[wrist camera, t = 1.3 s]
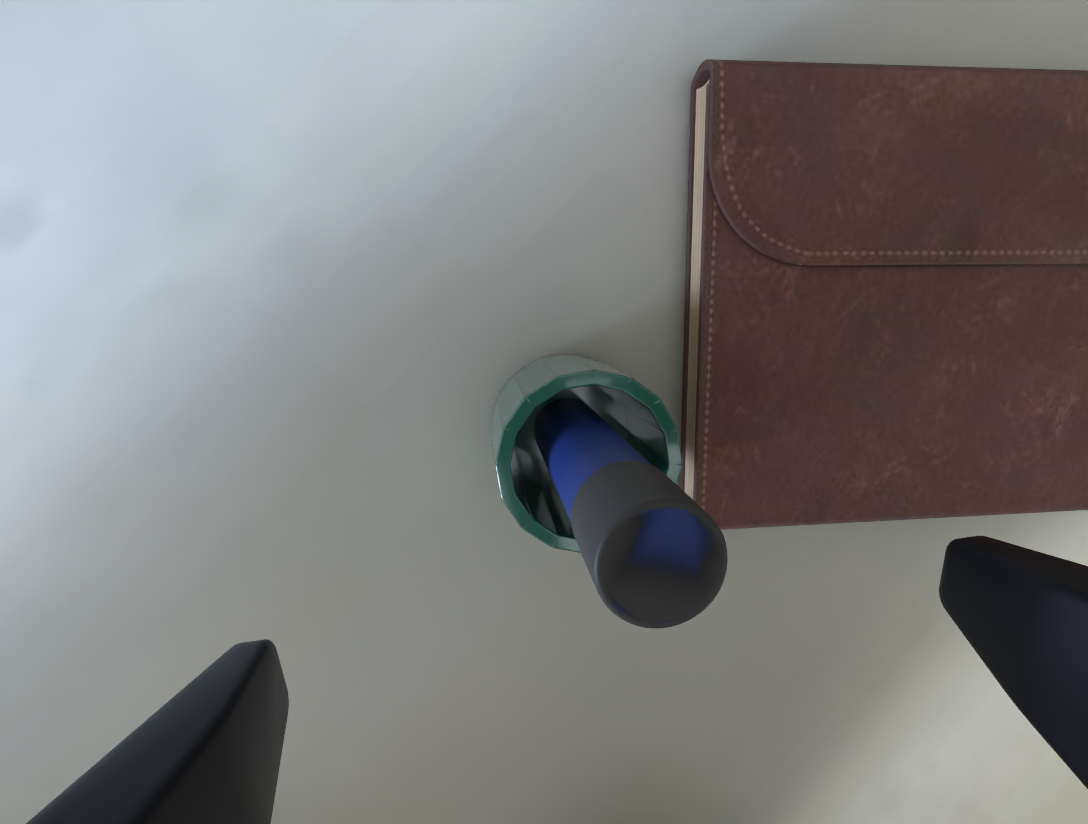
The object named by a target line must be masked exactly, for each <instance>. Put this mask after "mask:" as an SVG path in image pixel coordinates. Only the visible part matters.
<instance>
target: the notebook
mask: <svg viewBox="0 0 1088 824" xmlns="http://www.w3.org/2000/svg"><path fill="white" fill-rule="evenodd" d="M681 456H682V467H681V471H680V488H681V489H682V490H683V491H684V492H685V493H686V494H687V495H688V496H689V497H691V498H692V499H693V500H694V501H695V502H696V503H697V504H698V505H699V506H700V507H701V508H703V509H704V510H705V511H706V512H707V513H708V514H709V515H710V516H711V517H712V518H713V519H714V520H715V522H716V523H717V525H718V526H719V528H720V529H737V528H756V527H774V526H793V525H812V524H830V523H849V522H868V521H886V520H905V519H924V518H943V517H961V516H980V515H999V514H1017V513H1036V512H1055V511H1074V510H1088V71H1078V70H1044V69H1010V68H976V67H942V66H908V65H874V64H840V63H806V62H772V61H738V60H705V61H703V62H702V63H701V65H700V66H699V68H698V70H697V72H696V75H695V77H694V79H693V82H692V86H691V118H690V153H689V188H688V223H687V258H686V293H685V328H684V363H683V398H682V433H681Z"/></svg>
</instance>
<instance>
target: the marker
mask: <svg viewBox="0 0 1088 824" xmlns="http://www.w3.org/2000/svg"><path fill="white" fill-rule="evenodd" d="M534 436H535V440H536V443H537V445H538V448H539V450H540V452H541V455H542V457H543V459H544V462H545V464H546V466H547V468H548V471H549V473H550V475H551V478H552V480H553V482H554V485H555V487H556V489H557V491H558V494H559V496H560V498H561V501H562V503H563V505H564V508H565V510H566V512H567V515H568V517H569V519H570V521H571V526H572V530H573V534H574V537H575V539H576V541H577V544H578V546H579V549H580V551H581V553H582V556H583V558H584V560H585V563H586V565H587V567H588V570H589V572H590V575H591V577H592V579H593V582H594V584H595V586H596V589H597V591H598V594H599V595H600V597H601V599H602V601H603V602H604V603H605V605H606V606H607V607H608V608H609V609H610V610H611V611H612V612H613V613H614V614H615V615H617V616H618V617H619V618H621V619H623V620H625V621H627V622H629V623H631V624H634V625H637V626H641V627H645V628H666V627H672V626H675V625H679V624H681V623H684V622H686V621H688V620H690V619H692V618H693V617H695V616H696V615H698V614H699V613H701V612H702V611H703V610H704V609H705V608H706V607H707V606H708V605H709V604H710V603H711V602H712V601H713V599H714V598H715V596H716V595H717V593H718V592H719V590H720V588H721V586H722V583H723V581H724V578H725V574H726V569H727V548H726V542H725V539H724V536H723V534H722V532H721V530H720V528H719V526H718V525H717V523H716V522H715V520H714V519H713V518H712V517H711V516H710V515H709V514H708V513H707V512H706V511H705V510H704V509H703V508H701V507H700V506H699V505H698V504H697V503H696V502H695V501H694V500H693V499H692V498H691V497H689V496H688V495H687V494H686V493H685V492H684V491H683V490H682V489H681V488H680V487H679V486H678V485H676V484H675V483H674V482H673V481H672V480H671V479H670V478H669V477H668V476H667V475H666V474H664V473H663V472H662V471H661V470H659V469H658V468H656V467H654V466H652V465H651V464H650V463H649V462H648V461H647V460H646V459H645V458H644V457H643V456H642V455H641V454H639V453H638V452H637V451H636V450H635V449H634V448H633V447H632V446H631V445H630V444H629V443H628V442H627V441H626V440H625V439H623V438H622V437H621V436H620V435H619V434H618V433H617V432H616V431H615V430H614V429H613V428H612V427H611V426H610V425H608V424H607V423H606V422H605V421H604V420H603V419H602V418H601V417H600V416H599V415H598V414H597V413H596V412H595V411H594V410H592V409H591V408H590V407H589V406H588V405H587V404H586V403H584V402H582V401H580V400H578V399H574V398H561V399H557V400H554V401H552V402H550V403H549V404H547V405H546V406H545V407H544V408H543V409H542V410H541V411H540V413H539V414H538V416H537V418H536V421H535V425H534Z"/></svg>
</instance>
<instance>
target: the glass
mask: <svg viewBox="0 0 1088 824" xmlns="http://www.w3.org/2000/svg"><path fill="white" fill-rule="evenodd" d="M561 398H574V399H578V400H580V401H582V402H584V403H586V404H587V405H588V406H589V407H590V408H591V409H592V410H594V411H595V412H596V413H597V414H598V415H599V416H600V417H601V418H602V419H603V420H604V421H605V422H606V423H607V424H608V425H610V426H611V427H612V428H613V429H614V430H615V431H616V432H617V433H618V434H619V435H620V436H621V437H622V438H623V439H625V440H626V441H627V442H628V443H629V444H630V445H631V446H632V447H633V448H634V449H635V450H636V451H637V452H638V453H639V454H641V455H642V456H643V457H644V458H645V459H646V460H647V461H648V462H649V463H650V464H651V465H652V466H654V467H656V468H658V469H659V470H661V471H662V472H663V473H664V474H666V475H667V476H668V477H669V478H670V479H671V480H672V481H673V482H674V483H675V484H676V485H677V482H678V479H679V475H680V471H681V467H682V456H681V448H680V441H679V433H678V429H677V426H676V424H675V423H674V421H673V419H672V418H671V416H670V414H669V413H668V411H667V409H666V408H665V406H664V404H663V402H662V401H661V399H659V397H658V396H656V395H655V394H654V393H652V392H651V391H649V390H648V389H647V388H645V387H644V386H642V385H641V384H640V383H638V382H637V381H636V380H634V379H633V378H631V377H629V376H627V375H625V374H623V373H621V372H619V371H617V370H615V369H613V368H611V367H609V366H607V365H605V364H603V363H601V362H599V361H597V360H593V359H589V358H586V357H583V356H577V355H568V354H567V355H565V354H562V355H553V356H549V357H545V358H541V359H539V360H536V361H534V362H532V363H530V364H528V365H527V366H525V367H524V368H522V369H521V370H520V371H518V372H517V373H516V374H515V375H514V376H513V377H512V378H511V379H510V380H509V381H508V383H507V384H506V385H505V386H504V388H503V390H502V391H501V393H500V395H499V397H498V399H497V402H496V404H495V408H494V411H493V417H492V425H491V437H492V445H493V453H494V460H495V467H496V473H497V478H498V483H499V488H500V494H501V498H502V500H503V502H504V504H505V505H506V507H507V508H508V509H509V511H510V512H511V514H512V515H513V517H514V518H515V520H516V521H517V523H518V524H519V526H520V527H521V528H522V529H523V530H524V531H526V532H528V533H529V534H531V535H532V536H534V537H535V538H537V539H539V540H540V541H542V542H543V543H545V544H547V545H548V546H550V547H553V548H557V549H562V550H568V551H574V552H580V553H581V551H580V549H579V546H578V544H577V541H576V539H575V537H574V534H573V530H572V526H571V521H570V519H569V517H568V515H567V512H566V510H565V508H564V505H563V503H562V501H561V498H560V496H559V494H558V491H557V489H556V487H555V485H554V482H553V480H552V478H551V475H550V473H549V471H548V468H547V466H546V464H545V462H544V459H543V457H542V455H541V452H540V450H539V448H538V445H537V443H536V440H535V436H534V425H535V421H536V418H537V416H538V414H539V413H540V411H541V410H542V409H543V408H544V407H545V406H546V405H547V404H549V403H550V402H552V401H554V400H557V399H561Z"/></svg>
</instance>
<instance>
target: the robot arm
mask: <svg viewBox="0 0 1088 824" xmlns="http://www.w3.org/2000/svg"><path fill="white" fill-rule="evenodd" d="M939 596H940V599H941V602H942V604H943V607H944V608H945V610H946V611H947V613H948V614H949V615H950V617H951V618H952V619H953V621H954V622H955V624H956V625H957V626H958V628H959V629H960V630H961V632H962V633H963V634H964V636H965V637H966V639H967V640H968V641H969V643H970V644H971V645H972V647H973V648H974V649H975V651H976V652H977V654H978V655H979V656H980V658H981V659H982V660H983V662H984V663H985V665H986V666H987V667H988V669H989V670H990V671H991V673H992V674H993V675H994V677H995V678H996V680H997V681H998V682H999V684H1000V685H1001V686H1002V688H1003V689H1004V690H1005V692H1006V693H1007V694H1008V696H1009V697H1010V698H1011V700H1012V701H1013V702H1014V704H1015V705H1016V706H1017V707H1018V709H1019V710H1020V711H1021V712H1022V713H1023V715H1024V716H1025V717H1026V718H1027V719H1028V721H1029V722H1030V723H1031V724H1032V725H1033V727H1034V728H1035V729H1036V730H1037V731H1038V732H1039V734H1040V735H1041V736H1042V737H1043V738H1044V739H1045V740H1046V742H1047V743H1048V744H1049V745H1050V746H1051V747H1052V749H1053V750H1054V751H1055V752H1056V753H1057V754H1058V755H1059V757H1060V758H1061V759H1062V760H1063V761H1064V762H1065V763H1066V765H1067V766H1068V767H1069V768H1070V769H1071V770H1072V772H1073V773H1074V774H1075V775H1076V776H1077V777H1078V778H1079V780H1080V781H1081V782H1082V783H1083V784H1084V785H1085V787H1086V788H1087V789H1088V566H1085V565H1081V564H1078V563H1075V562H1071V561H1068V560H1064V559H1061V558H1057V557H1054V556H1051V555H1047V554H1044V553H1040V552H1037V551H1034V550H1030V549H1027V548H1023V547H1020V546H1016V545H1013V544H1010V543H1006V542H1003V541H999V540H996V539H993V538H989V537H985V536H974V537H967V538H960V539H955V540H953V541H951V542H950V543H949V545H948V546H947V549H946V553H945V558H944V564H943V569H942V575H941V580H940V586H939ZM288 707H289V699H288V691H287V687H286V683H285V679H284V676H283V672H282V668H281V664H280V661H279V657H278V653H277V650H276V647H275V645H274V644H273V642H271V641H270V640H266V639H265V640H258V641H251V642H244V643H239V644H236V645H234V646H233V647H232V648H230V649H229V650H228V651H227V652H226V653H224V654H223V655H222V656H221V657H220V658H219V659H217V660H216V661H215V662H214V663H213V664H212V665H210V666H209V667H208V668H207V669H206V670H205V671H203V672H202V673H201V674H200V675H199V676H198V677H196V678H195V679H194V680H193V681H192V682H191V683H189V684H188V685H187V686H186V687H185V688H184V689H182V690H181V691H180V692H179V693H178V694H177V695H175V696H174V697H173V698H172V699H171V700H170V701H168V702H167V703H166V704H165V705H164V706H163V707H161V708H160V709H159V710H158V711H157V712H156V713H154V714H153V715H152V716H151V717H150V718H149V719H147V720H146V721H145V722H144V723H143V724H142V725H140V726H139V727H138V728H137V729H136V730H135V731H133V732H132V733H131V734H130V735H129V736H128V737H126V738H125V739H124V740H123V741H122V742H121V743H119V744H118V745H117V746H116V747H115V748H114V749H112V750H111V751H110V752H109V753H108V754H107V755H105V756H104V757H103V758H102V759H101V760H100V761H98V762H97V763H96V764H95V765H94V766H93V767H91V768H90V769H89V770H88V771H87V772H86V773H84V774H83V775H82V776H81V777H80V778H79V779H77V780H76V781H75V782H74V783H73V784H72V785H70V786H69V787H68V788H67V789H66V790H65V791H63V792H62V793H61V794H60V795H59V796H58V797H56V798H55V799H54V800H53V801H52V802H51V803H49V804H48V805H47V806H46V807H45V808H44V809H42V810H41V811H40V812H39V813H38V814H37V815H35V816H34V817H33V818H32V819H31V820H30V821H29V822H27V823H26V824H270V823H271V817H272V811H273V805H274V798H275V792H276V786H277V779H278V773H279V767H280V760H281V754H282V748H283V741H284V735H285V729H286V722H287V716H288Z"/></svg>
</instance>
